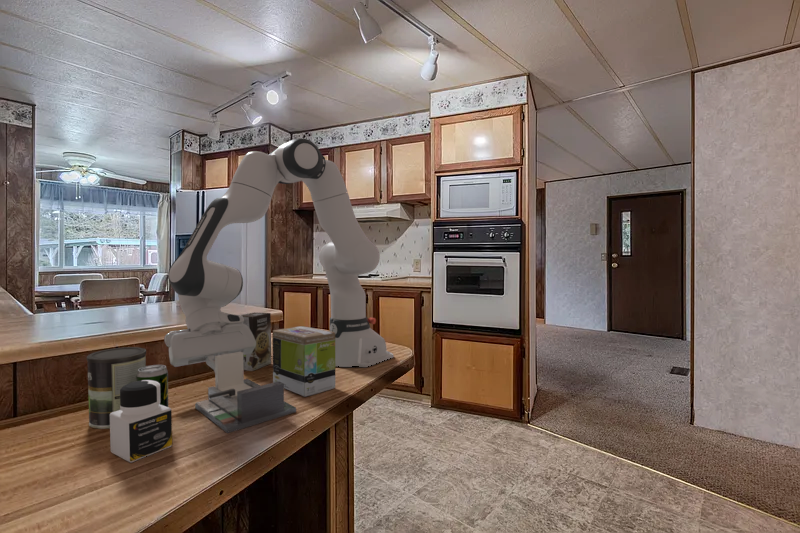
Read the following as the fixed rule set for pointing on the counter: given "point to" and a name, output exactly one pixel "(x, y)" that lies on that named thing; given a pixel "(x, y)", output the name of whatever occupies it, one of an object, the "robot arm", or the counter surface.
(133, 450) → the medicine bottle
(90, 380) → the coffee can
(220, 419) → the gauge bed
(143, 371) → the green drink can
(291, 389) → the tea box
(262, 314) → the coffee box
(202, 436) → the counter surface
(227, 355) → the plunger
